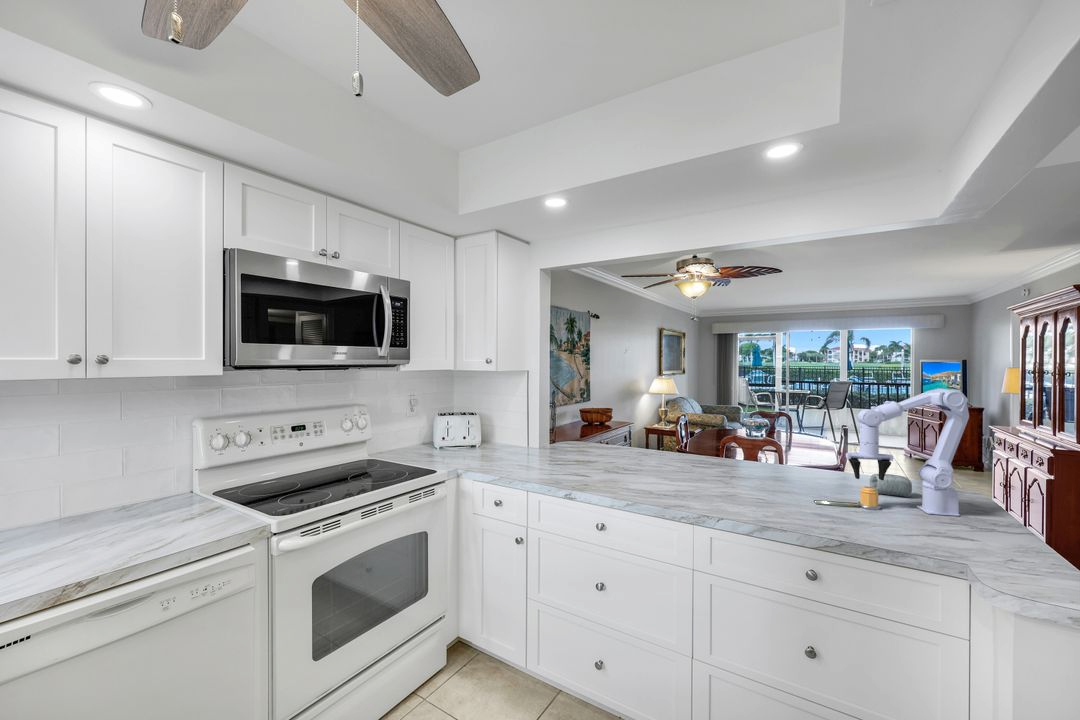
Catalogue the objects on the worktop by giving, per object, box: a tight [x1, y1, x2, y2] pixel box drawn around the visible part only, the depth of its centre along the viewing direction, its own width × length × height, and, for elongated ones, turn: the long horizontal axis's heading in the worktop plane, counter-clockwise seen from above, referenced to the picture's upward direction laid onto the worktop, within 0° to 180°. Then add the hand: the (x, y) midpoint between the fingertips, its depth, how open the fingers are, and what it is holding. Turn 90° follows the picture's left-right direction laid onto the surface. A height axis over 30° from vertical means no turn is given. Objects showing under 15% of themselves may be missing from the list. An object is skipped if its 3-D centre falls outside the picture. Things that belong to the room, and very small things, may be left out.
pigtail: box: [813, 499, 882, 511], centre depth 172 cm, size 21×7×4 cm, turn 75°
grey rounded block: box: [869, 473, 913, 498], centre depth 184 cm, size 14×10×10 cm
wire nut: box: [859, 486, 879, 507], centre depth 170 cm, size 5×5×6 cm
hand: (869, 479), depth 170 cm, fingers open, 7 cm apart
